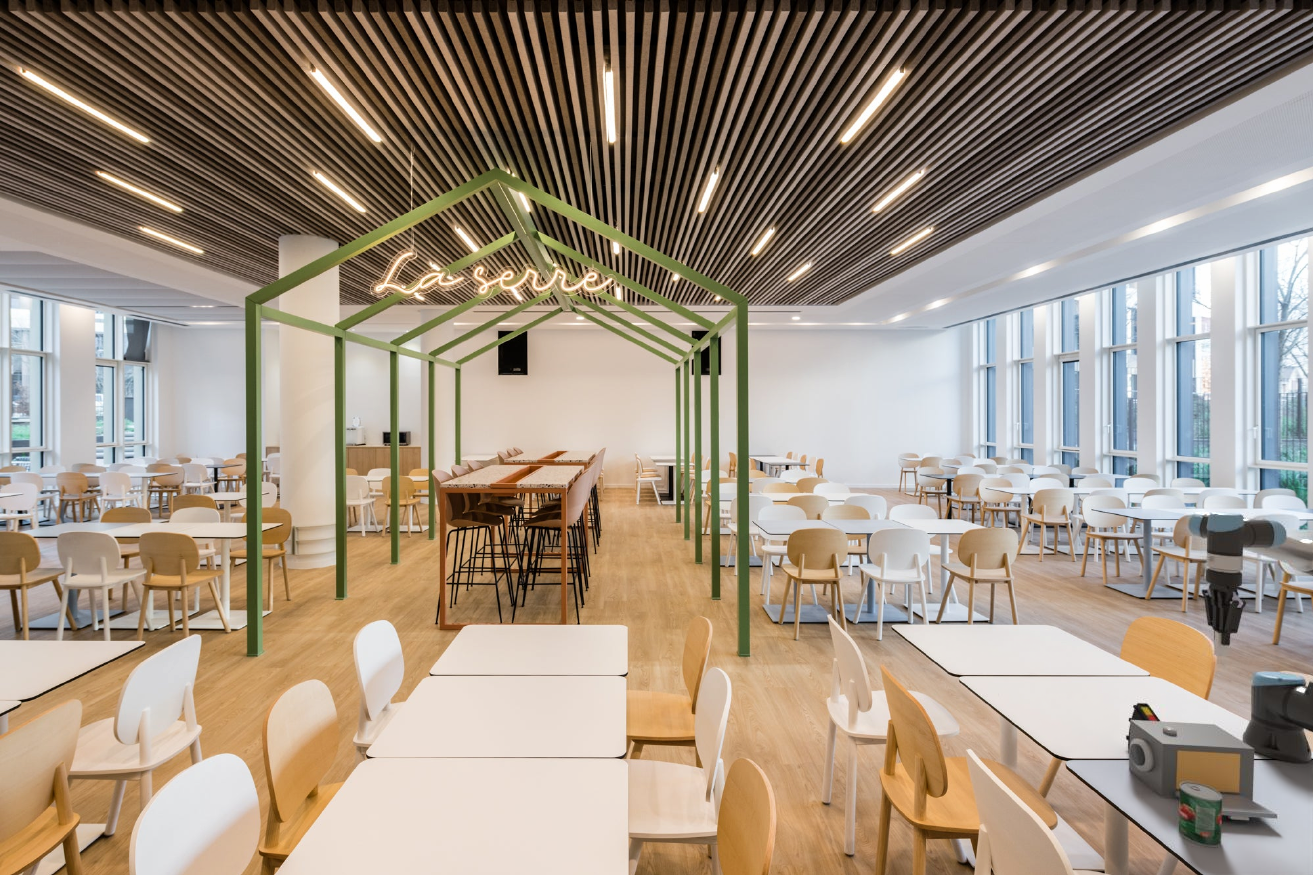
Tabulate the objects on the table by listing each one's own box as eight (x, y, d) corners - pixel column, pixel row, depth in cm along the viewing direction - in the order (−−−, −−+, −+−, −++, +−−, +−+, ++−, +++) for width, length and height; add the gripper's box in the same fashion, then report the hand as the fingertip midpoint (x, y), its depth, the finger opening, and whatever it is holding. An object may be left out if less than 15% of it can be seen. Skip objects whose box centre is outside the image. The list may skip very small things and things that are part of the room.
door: (1175, 790, 173) (1205, 809, 162) (1241, 795, 171) (1277, 814, 161) (1175, 799, 173) (1206, 818, 162) (1242, 803, 171) (1277, 822, 160)
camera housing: (1213, 773, 186) (1214, 720, 185) (1253, 803, 171) (1255, 745, 171) (1120, 768, 188) (1121, 715, 188) (1152, 796, 174) (1154, 739, 174)
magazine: (1132, 737, 203) (1147, 702, 197) (1158, 776, 192) (1176, 740, 185) (1119, 736, 204) (1134, 701, 197) (1145, 775, 192) (1162, 740, 185)
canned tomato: (1230, 846, 154) (1232, 799, 153) (1198, 847, 153) (1200, 800, 153) (1199, 825, 161) (1201, 780, 161) (1169, 826, 161) (1170, 781, 161)
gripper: (1192, 564, 188) (1189, 646, 189) (1227, 574, 175) (1224, 663, 176) (1220, 564, 187) (1218, 648, 188) (1258, 575, 174) (1255, 664, 175)
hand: (1221, 655), depth 182 cm, fingers closed
